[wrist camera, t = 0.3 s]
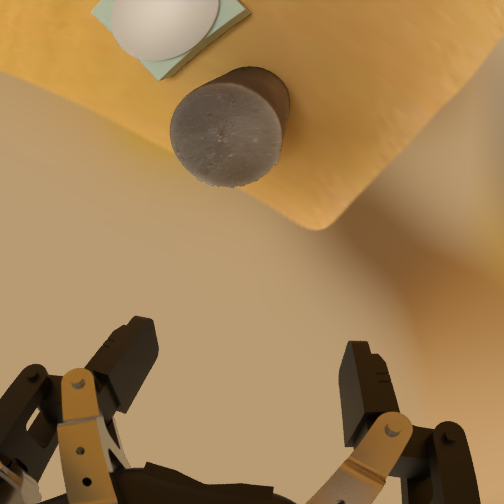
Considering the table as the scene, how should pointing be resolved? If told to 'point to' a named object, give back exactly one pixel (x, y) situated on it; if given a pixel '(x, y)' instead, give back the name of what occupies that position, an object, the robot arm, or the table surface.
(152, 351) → the robot arm
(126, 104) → the table surface
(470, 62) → the table surface
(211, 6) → the scale
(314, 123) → the table surface
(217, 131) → the pillar candle
